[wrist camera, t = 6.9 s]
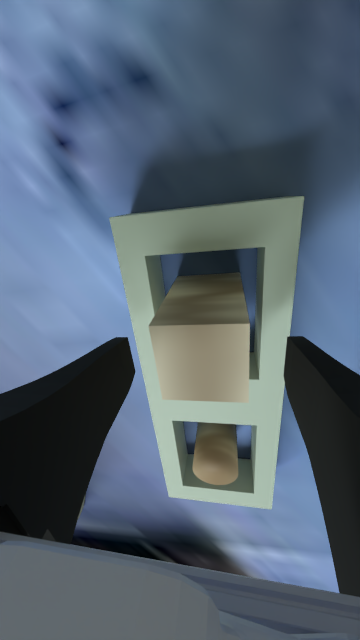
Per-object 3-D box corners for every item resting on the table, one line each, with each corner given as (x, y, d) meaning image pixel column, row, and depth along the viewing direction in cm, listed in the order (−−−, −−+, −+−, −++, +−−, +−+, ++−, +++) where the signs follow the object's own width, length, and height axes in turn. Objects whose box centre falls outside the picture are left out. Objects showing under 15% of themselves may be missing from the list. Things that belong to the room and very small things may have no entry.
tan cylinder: (236, 413, 21) (238, 458, 17) (236, 441, 22) (238, 487, 19) (196, 412, 21) (190, 454, 18) (199, 438, 23) (194, 482, 19)
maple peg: (239, 272, 15) (249, 323, 9) (240, 328, 17) (248, 402, 11) (177, 276, 16) (148, 326, 10) (183, 329, 18) (162, 399, 12)
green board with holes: (288, 196, 13) (304, 196, 10) (266, 474, 24) (271, 509, 21) (130, 213, 15) (109, 217, 12) (174, 465, 25) (169, 496, 23)
